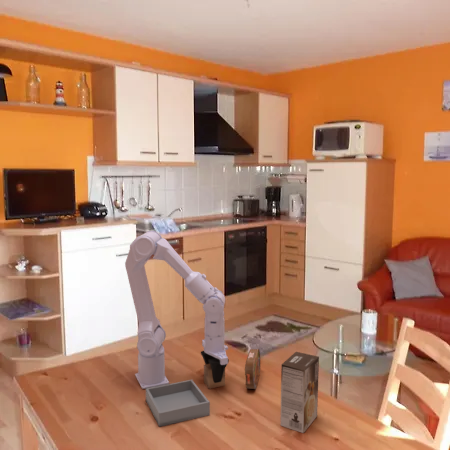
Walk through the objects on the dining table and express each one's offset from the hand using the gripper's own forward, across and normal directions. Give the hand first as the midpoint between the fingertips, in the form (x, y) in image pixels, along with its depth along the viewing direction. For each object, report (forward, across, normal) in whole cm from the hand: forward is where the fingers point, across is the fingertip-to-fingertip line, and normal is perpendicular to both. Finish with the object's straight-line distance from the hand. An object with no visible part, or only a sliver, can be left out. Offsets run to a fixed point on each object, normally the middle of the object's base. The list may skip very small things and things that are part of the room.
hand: (214, 378), depth 130 cm
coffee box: (+2, -26, -12) cm, 29 cm away
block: (+2, 0, 0) cm, 2 cm away
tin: (+2, -3, -11) cm, 12 cm away
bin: (+2, -8, +14) cm, 16 cm away
